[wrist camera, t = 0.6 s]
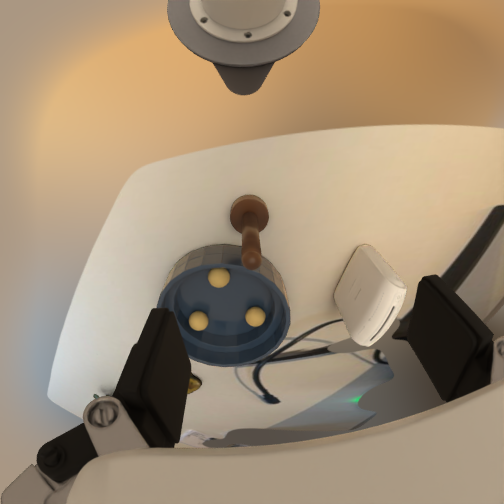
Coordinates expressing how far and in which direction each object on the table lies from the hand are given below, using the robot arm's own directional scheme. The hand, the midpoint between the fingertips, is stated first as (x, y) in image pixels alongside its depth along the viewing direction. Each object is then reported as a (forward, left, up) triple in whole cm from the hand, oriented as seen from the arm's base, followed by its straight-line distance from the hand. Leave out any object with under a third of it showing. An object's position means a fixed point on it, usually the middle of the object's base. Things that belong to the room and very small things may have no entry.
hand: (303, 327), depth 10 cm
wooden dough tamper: (+5, -2, -29) cm, 29 cm away
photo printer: (+16, +13, -29) cm, 36 cm away
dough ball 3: (+21, -3, -27) cm, 34 cm away
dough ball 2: (+13, -7, -27) cm, 30 cm away
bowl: (+18, -7, -29) cm, 35 cm away
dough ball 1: (+21, -11, -27) cm, 35 cm away
